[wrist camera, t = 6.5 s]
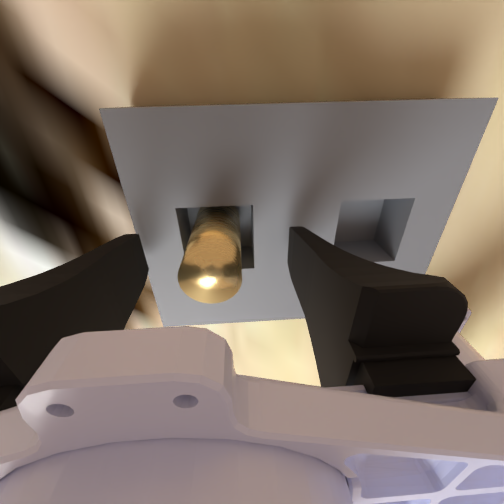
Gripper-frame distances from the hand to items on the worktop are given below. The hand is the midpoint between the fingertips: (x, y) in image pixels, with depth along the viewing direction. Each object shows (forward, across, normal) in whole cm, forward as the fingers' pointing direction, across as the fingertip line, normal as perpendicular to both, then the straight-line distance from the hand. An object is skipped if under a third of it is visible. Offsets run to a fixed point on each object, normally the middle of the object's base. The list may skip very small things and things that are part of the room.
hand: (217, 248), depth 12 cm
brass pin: (+3, 0, 0) cm, 3 cm away
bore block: (+4, -4, 0) cm, 6 cm away
